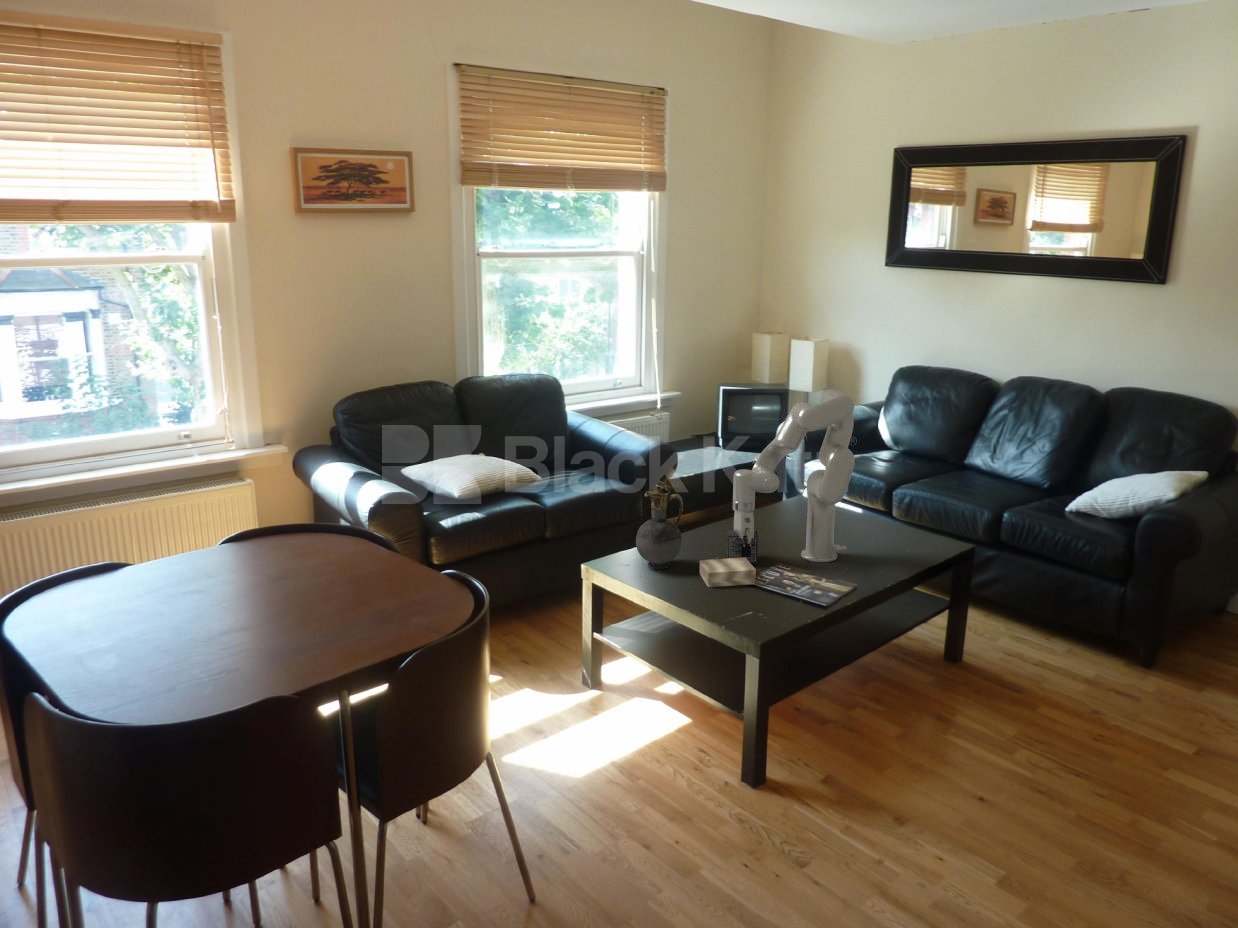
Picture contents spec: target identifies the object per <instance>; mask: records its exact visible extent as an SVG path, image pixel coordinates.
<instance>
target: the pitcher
mask: <svg viewBox="0 0 1238 928" xmlns="http://www.w3.org/2000/svg"><path fill="white" fill-rule="evenodd" d="M670 490H671V486H670V485H669V486H668V485H667V484H665V482H664V481H658V482H657V483H656V484H655V488H654V489H649V490H648V489H647V490H646V492H645V493H644V497H645V498H648V497H650V500H651V504H650V505H651V507H650V509H651V519H648V520H646V521H645V522H644V523H643V524H641V525H640V527H639V528H638V531H637V533H636V535H635V536H636V537H635V547H636V550H637V552H638V554H639V555H640V556H641V558H642V559H643V560H645V561H647V562H648V563H647V567H648V568H649V569H652V570H663V569H668V568H669V567H670V565H671V564H670V562H671V561H673V560H674V559H675V558H676V557H678V555H679V553H680V551H681V546H682V540H683V538H682V533H681V531H680V529H679V527H678V524H679V522H680V519H681V517H682V514H683V511H684V501H683V499H682V496H681V495H680V494H679V493H674V494H671V495H669V494H670V492H671V491H670ZM674 499H676V500H678V502H679V506H680V507H679V510H678V511H679V512H678V517H677V520H676V523H674V522H673V521H671V520H670V519H667V508H668V503H669V502H670V501H671V502H672V500H674Z"/></svg>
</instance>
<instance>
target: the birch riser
mask: <svg viewBox="0 0 1238 928" xmlns="http://www.w3.org/2000/svg"><path fill="white" fill-rule="evenodd" d="M756 572H757V570H756V568H755V567H754V566H753V564H750V562H749V561H748V560H747V559H746V558H745V557H743V558H728V557H727V558H716V559H713V558H712V559H700V560H699V576H700V577H701V579H702V581H704V583H705V585H706V586H707V587H708V588H715V587H718V588H719V587H730V586H731V587H732V586H744V585H754V584H753V583H755V584H756V577H757V575H756V574H757V573H756Z"/></svg>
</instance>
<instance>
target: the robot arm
mask: <svg viewBox="0 0 1238 928" xmlns="http://www.w3.org/2000/svg"><path fill="white" fill-rule="evenodd" d="M819 401H820V402H819V403H816V404H813V405H812V404H811V403H809V402H805V401H800V402H797V403H795V404H794V405H793V406H792V408H791V409H790V411H789V413H788V414H787V416H786V418H785V419H784V421H783V423H782V425H781V427H780V428H779V430H778V432H777V434H776V435H775V437H774V439H773V440H772V441H770V443H768V444H767V446H766V447H765V448H763V450H762V452H761V453H760V454H759V456H758V457H757V459H756V461H755V463H754V465H753V467H752V468H751V469H745V468H744V469H738V470H736V471H734V474H733V478H732V479H733V483H732V484H733V486H732V487H733V488H732V489H733V490H732V491H733V492H732V510H733V511H734V514H733V515H734V516H733V531H735V532H736V533H737V534H738V535H739V538H741V539H742V544H743V546H742V552H741V556H742V557H750V556H751V540H752V539H753V538H754V531H755V517H754V516H755V515H754V511H755V505H756V503H755V502H756V493H765V494H768V493H769V494H771V493H774V492H775V491H776V490H778V488H779V487H780V478H779V477H778V476H777V474H776V473H775V472H774V471H775V469H776V468H777V466H778V465H779V463H780V462H781V460H782V459H784V458H785V457H786V456H788V455H790V454H793V453H795V452H797V451H798V449H799V447H800V445H801V444H802V442H803V440H804V439H805V436H806V435H807V432H815V431H818V430H821V429H825V428H827V429H826V432H825V436H824V438H823V440H822V444H821V447H820V450H819V454H818V459H819V462H820V463H821V465H823V466H824V467H825V469H816V470H813V472H811V473H810V474H809V475H808V477H807V480H806V497H807V514H806V515H807V516H806V534H805V535H806V536H805V539H806V540H805V549H803V550H802V551H801V552H800V553H801V554H800V555H801V557H802V558H803V559H805V560H806V561H809V562H815V563H829V562H833V561H836V560H837V558H838V552H846V551H847V546H846V545H841V544H834V542H835V541H834V539H835V537H834V536H835V519H836V517H835V516H836V504H838V503H840V502H841V501H842V500H843V498H844V496H845V494H846V493H847V490H848V487H849V483H850V481H851V478H852V475H853V473H854V470H855V469H854V468H855V461H856V459H855V456H854V454H853V453H854V452H852V451H851V450H850V449H849V445H850V442H851V439H852V434H853V430H854V424H855V422H854V416H853V413H854V411H855V402H854V400H853V398H852V397H850V396H849V395H847V394H845V393H843V392H842V391H840V390H837V389H835V388H830V389H829V388H828V389H826V390H824V392H822V394H821V396H820V400H819ZM743 536H747V537H743ZM744 540H747V541H744Z"/></svg>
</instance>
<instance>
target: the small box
mask: <svg viewBox="0 0 1238 928" xmlns="http://www.w3.org/2000/svg"><path fill="white" fill-rule="evenodd" d="M743 537H747V536H743ZM744 541H747V540H744ZM742 546H743V544H742V539H741V538H739V535H738V534H737V533H736V532H735V531H734V530H727V559H728V558H743V557H742V556H741V552H742ZM758 548H759V535H758V530H754V538H753V539H752V540H751V556H750V557H745V558H746V559H747V560H748V561H749V562H750V564H751V565H758V562H759V561H758V558H759V557H758V555H759V554H758V553H759V549H758Z"/></svg>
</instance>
